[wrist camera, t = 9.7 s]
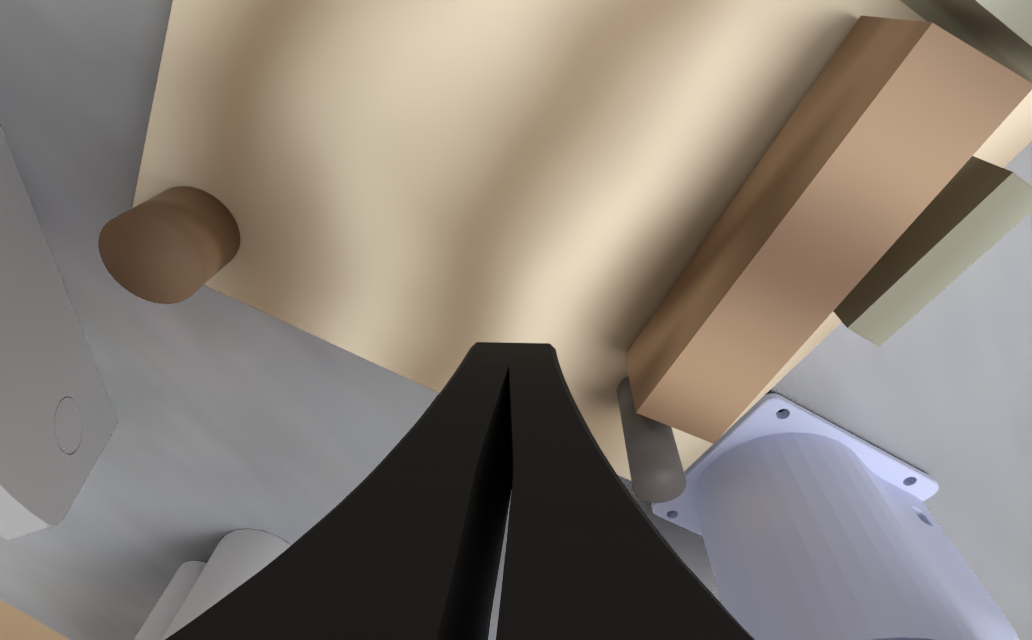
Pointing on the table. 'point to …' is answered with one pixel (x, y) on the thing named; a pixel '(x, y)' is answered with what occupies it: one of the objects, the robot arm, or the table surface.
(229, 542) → the vase
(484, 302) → the board
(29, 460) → the grey rounded block
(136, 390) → the table surface
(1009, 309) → the table surface
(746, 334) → the folding leg
